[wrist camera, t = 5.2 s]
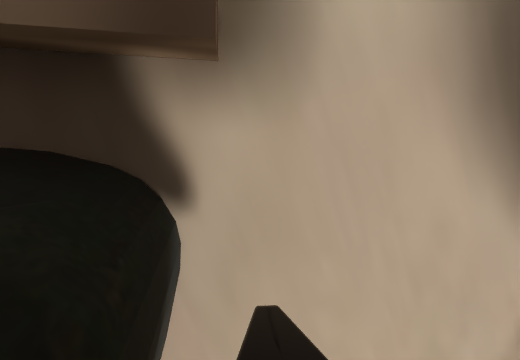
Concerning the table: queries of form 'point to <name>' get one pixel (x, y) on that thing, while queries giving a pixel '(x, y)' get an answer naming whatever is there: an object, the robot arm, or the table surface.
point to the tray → (113, 27)
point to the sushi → (82, 261)
